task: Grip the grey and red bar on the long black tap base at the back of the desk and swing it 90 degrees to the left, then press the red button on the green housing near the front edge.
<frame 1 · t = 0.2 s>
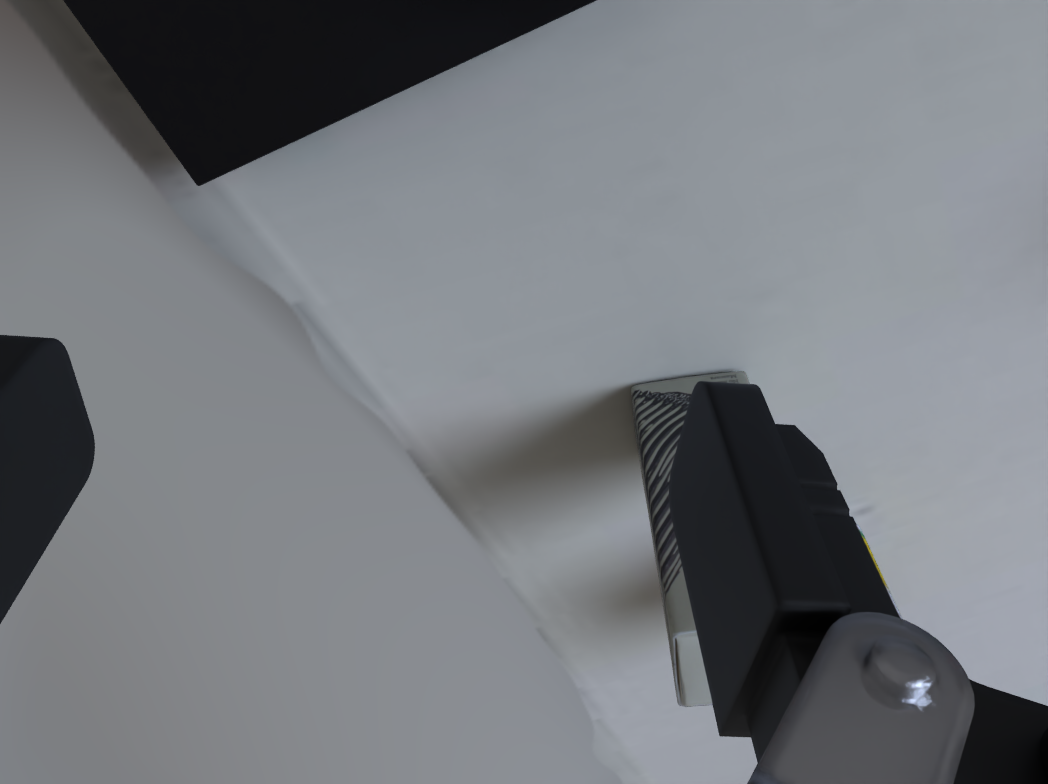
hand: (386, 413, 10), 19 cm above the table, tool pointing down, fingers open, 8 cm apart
box: (685, 410, 35), on the table
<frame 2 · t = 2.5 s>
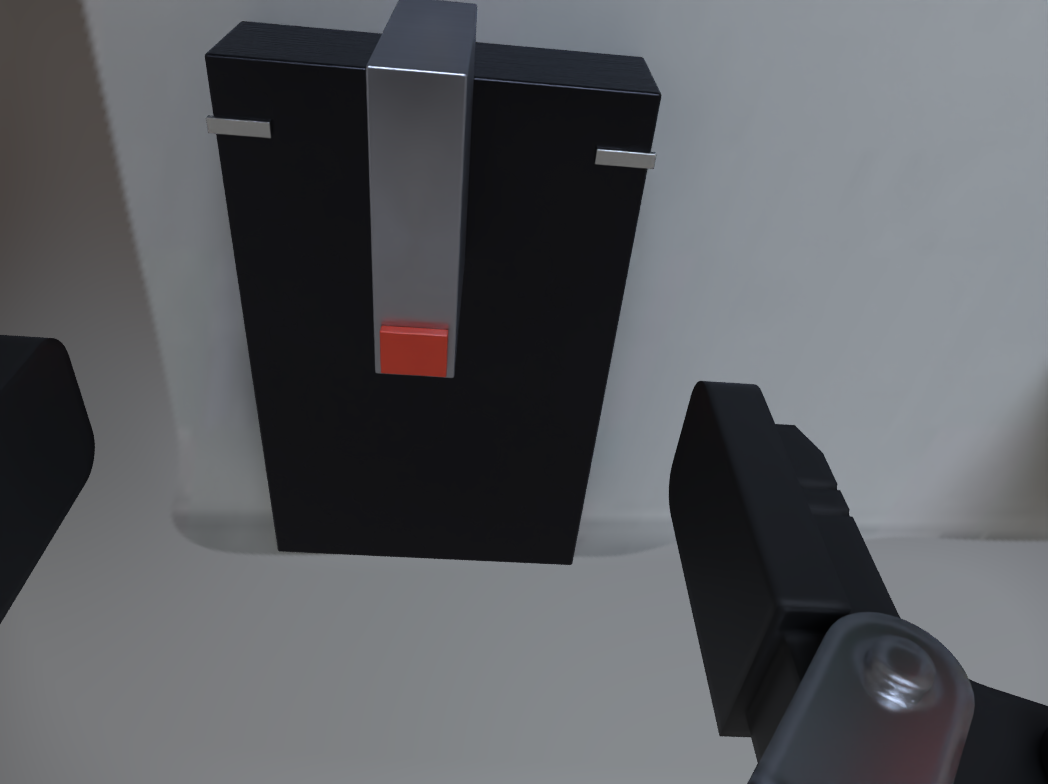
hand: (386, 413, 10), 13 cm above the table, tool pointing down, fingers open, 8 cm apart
tap base: (438, 312, 25), on the table
grey and red bar: (426, 188, 16), point 6 cm above the table, hinge at 0.0°
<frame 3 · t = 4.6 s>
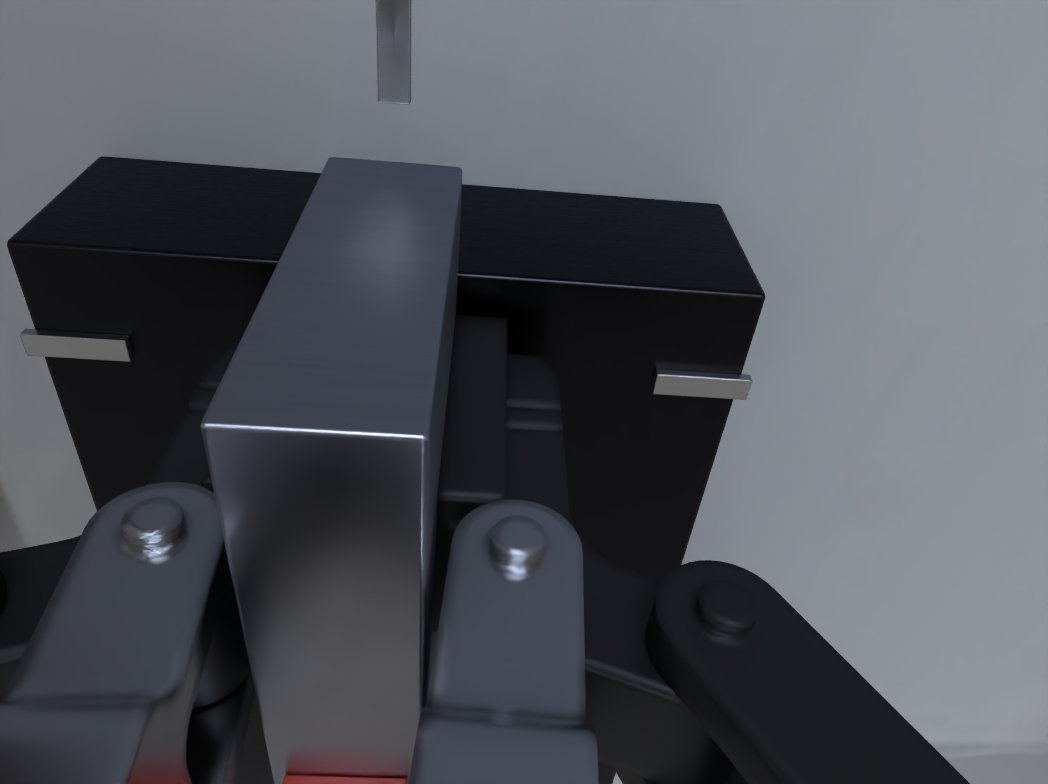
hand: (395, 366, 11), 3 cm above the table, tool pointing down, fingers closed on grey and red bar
tap base: (415, 521, 18), on the table
grey and red bar: (372, 494, 9), point 6 cm above the table, hinge at 0.0°, touching gripper
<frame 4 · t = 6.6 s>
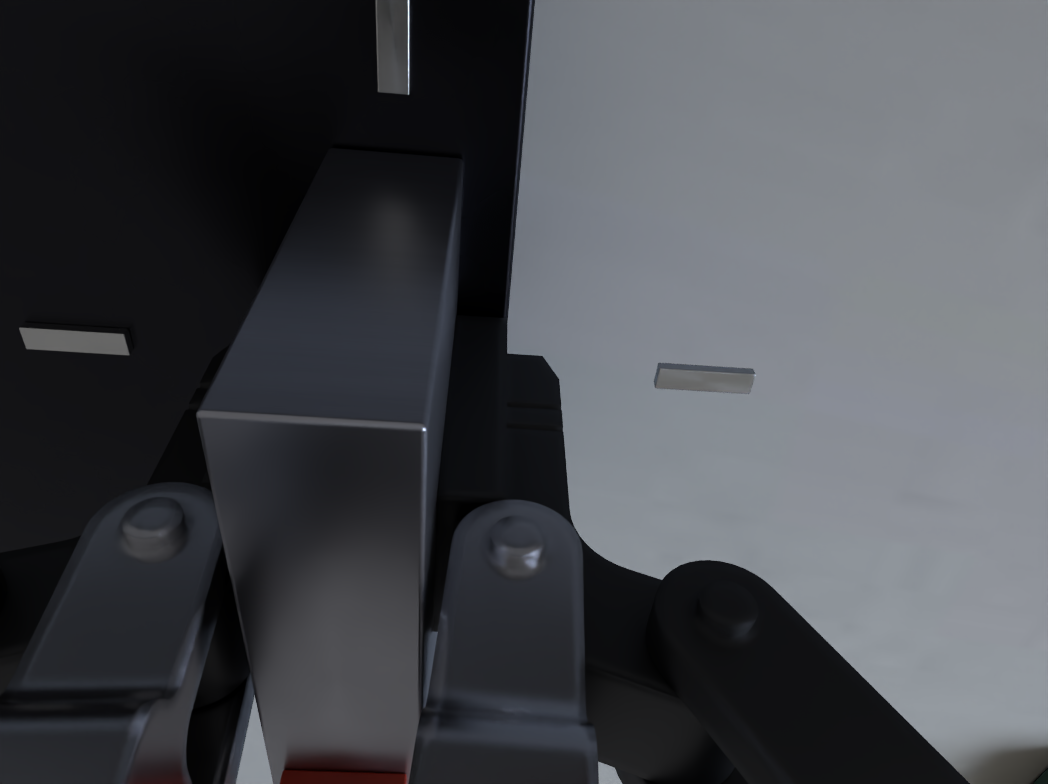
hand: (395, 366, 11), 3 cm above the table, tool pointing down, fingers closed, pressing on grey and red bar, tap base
tap base: (28, 228, 13), on the table
grey and red bar: (372, 488, 9), point 6 cm above the table, hinge at 89.8°, touching gripper
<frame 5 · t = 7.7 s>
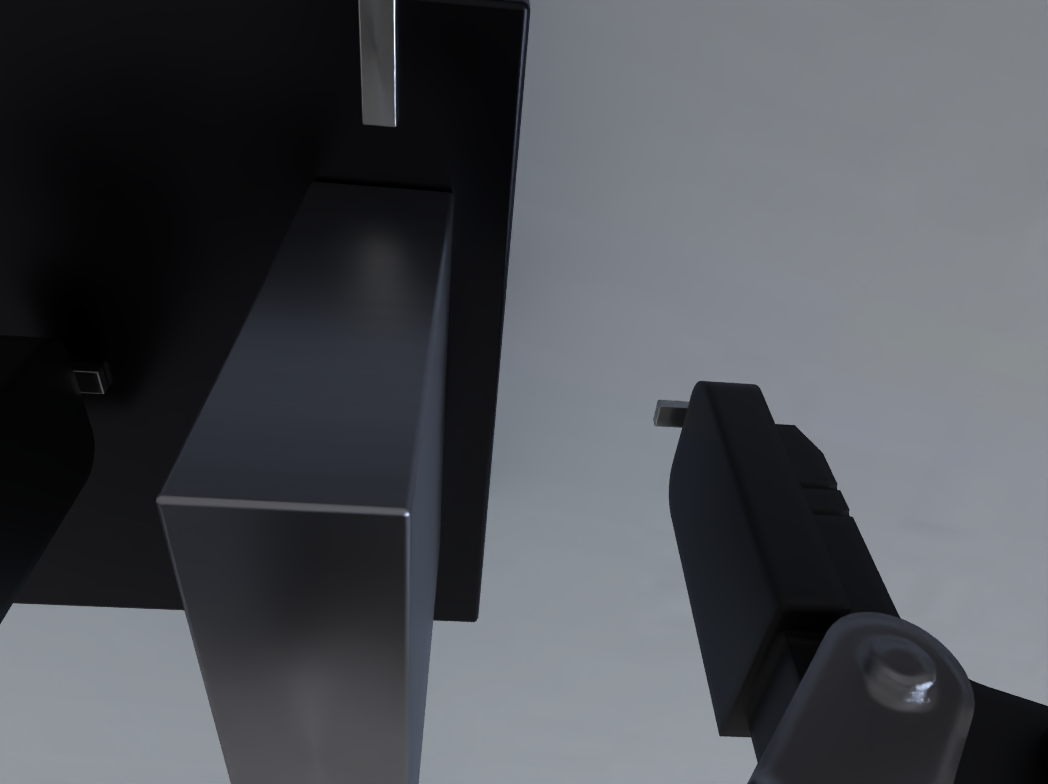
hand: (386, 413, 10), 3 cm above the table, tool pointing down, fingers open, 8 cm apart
tap base: (1, 255, 13), on the table
grey and red bar: (357, 542, 9), point 6 cm above the table, hinge at 89.8°
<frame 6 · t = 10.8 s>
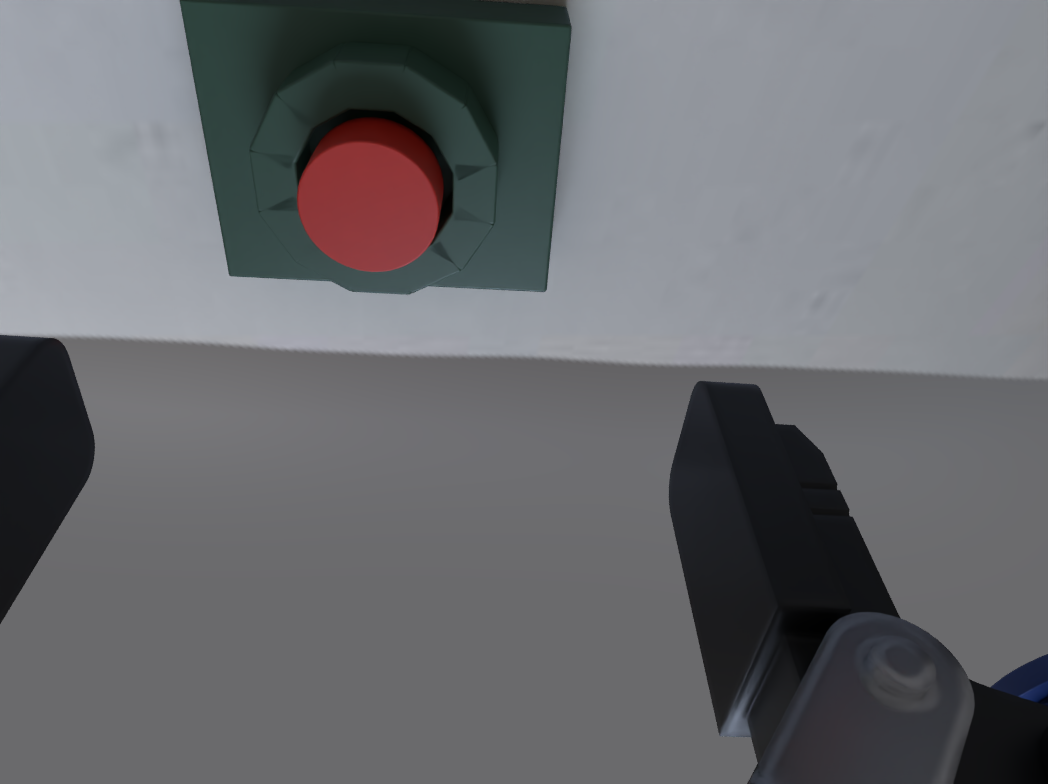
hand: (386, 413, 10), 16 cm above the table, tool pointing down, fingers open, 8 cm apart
button box: (392, 136, 24), on the table
button: (373, 196, 21), point 4 cm above the table, slide at 0.1 cm
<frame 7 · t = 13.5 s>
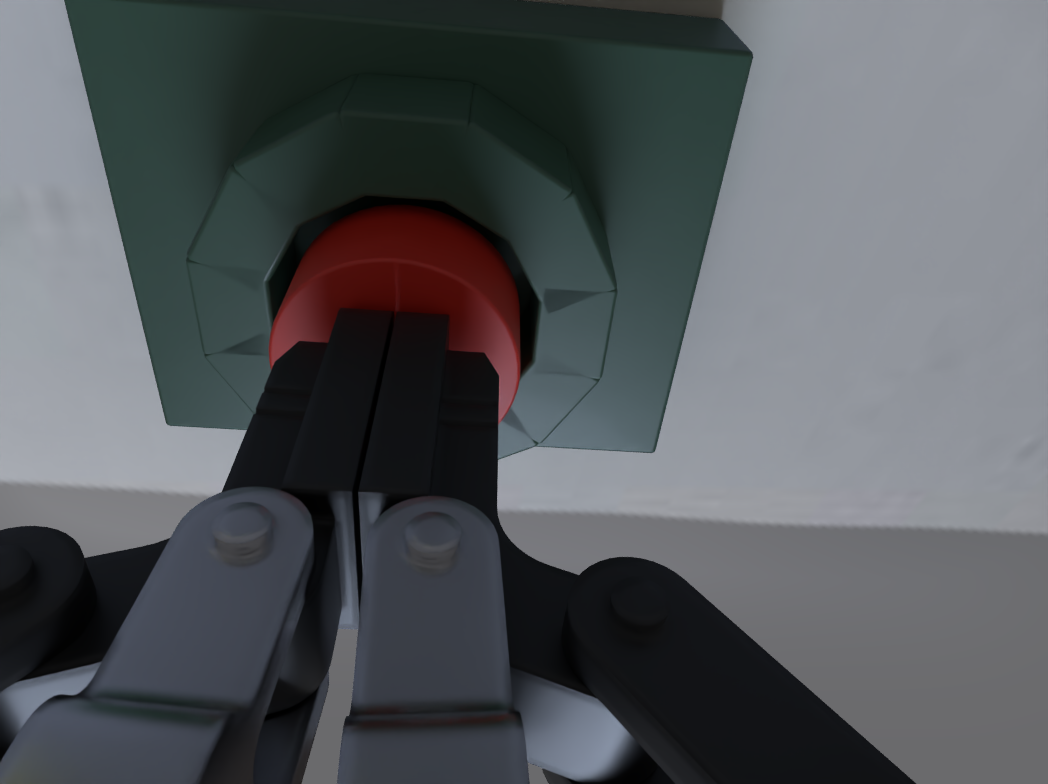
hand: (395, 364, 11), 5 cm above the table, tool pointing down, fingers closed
button box: (426, 214, 16), on the table
button: (402, 337, 12), point 4 cm above the table, slide at 0.0 cm, touching gripper
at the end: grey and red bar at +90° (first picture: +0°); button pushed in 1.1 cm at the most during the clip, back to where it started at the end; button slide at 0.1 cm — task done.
